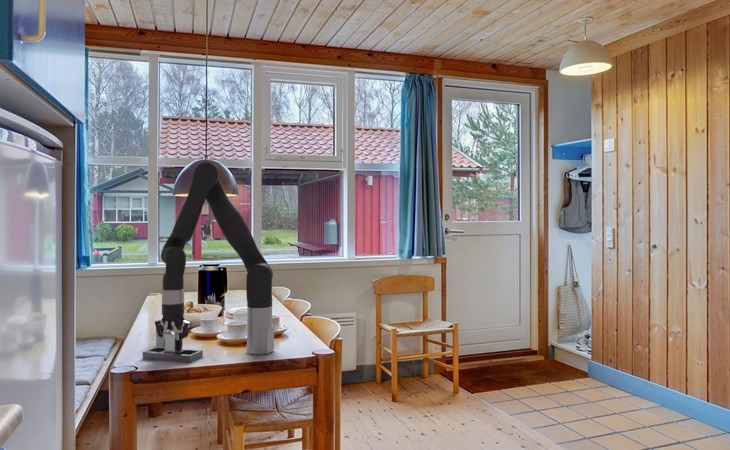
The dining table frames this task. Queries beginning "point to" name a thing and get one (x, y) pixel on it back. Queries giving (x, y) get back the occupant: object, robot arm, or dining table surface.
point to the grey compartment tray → (173, 355)
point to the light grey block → (170, 343)
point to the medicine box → (160, 339)
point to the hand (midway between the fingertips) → (173, 349)
